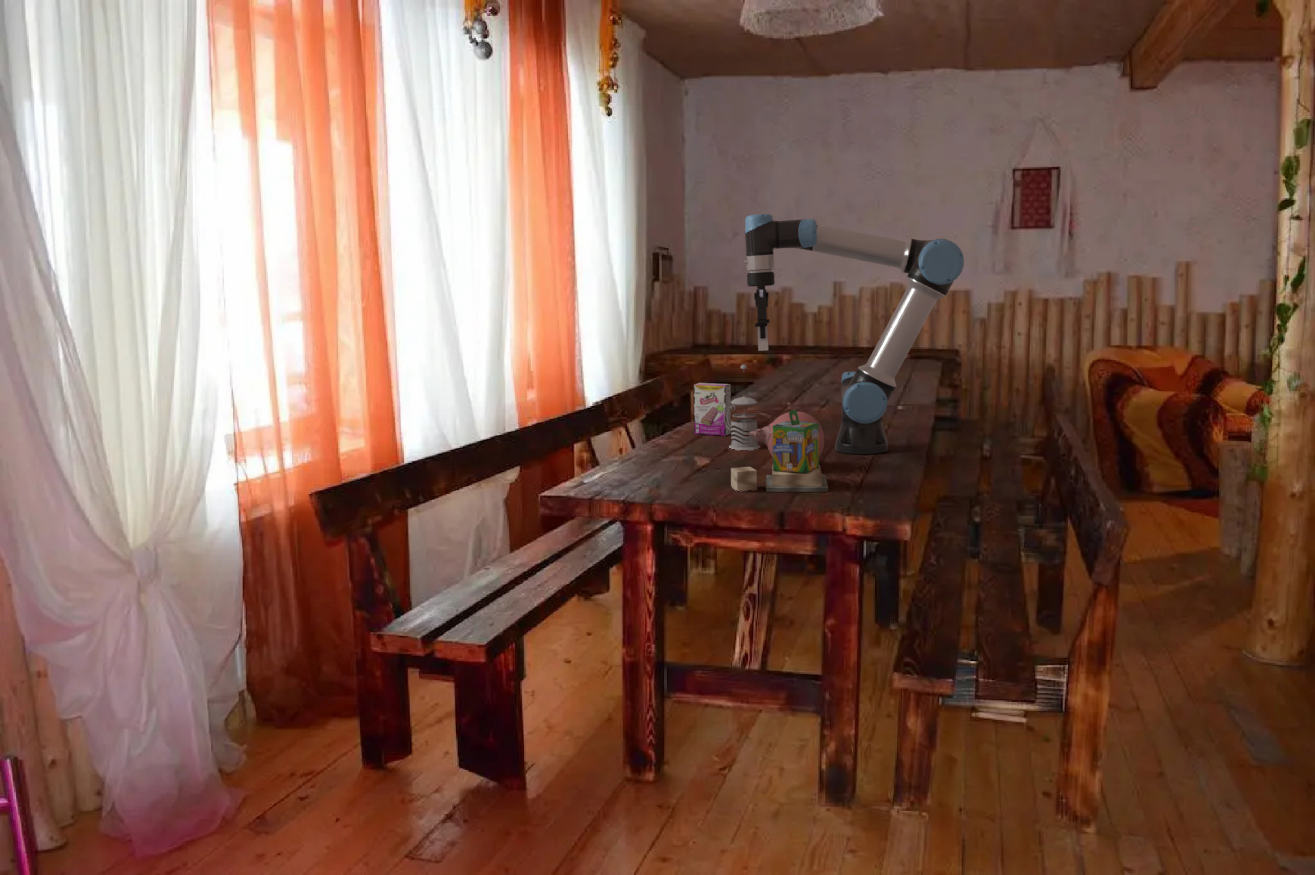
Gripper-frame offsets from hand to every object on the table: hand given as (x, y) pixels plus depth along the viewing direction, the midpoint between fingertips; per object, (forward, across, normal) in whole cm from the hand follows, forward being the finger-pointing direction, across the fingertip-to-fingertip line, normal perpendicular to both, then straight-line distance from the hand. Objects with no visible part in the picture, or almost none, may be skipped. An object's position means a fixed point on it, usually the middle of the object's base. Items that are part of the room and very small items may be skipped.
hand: (763, 348), depth 299 cm
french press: (+31, -18, -8) cm, 36 cm away
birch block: (+31, +39, -6) cm, 51 cm away
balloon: (+32, +14, +5) cm, 35 cm away
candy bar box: (+31, -41, -17) cm, 54 cm away
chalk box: (+28, +36, +7) cm, 46 cm away
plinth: (+32, +36, +7) cm, 48 cm away
